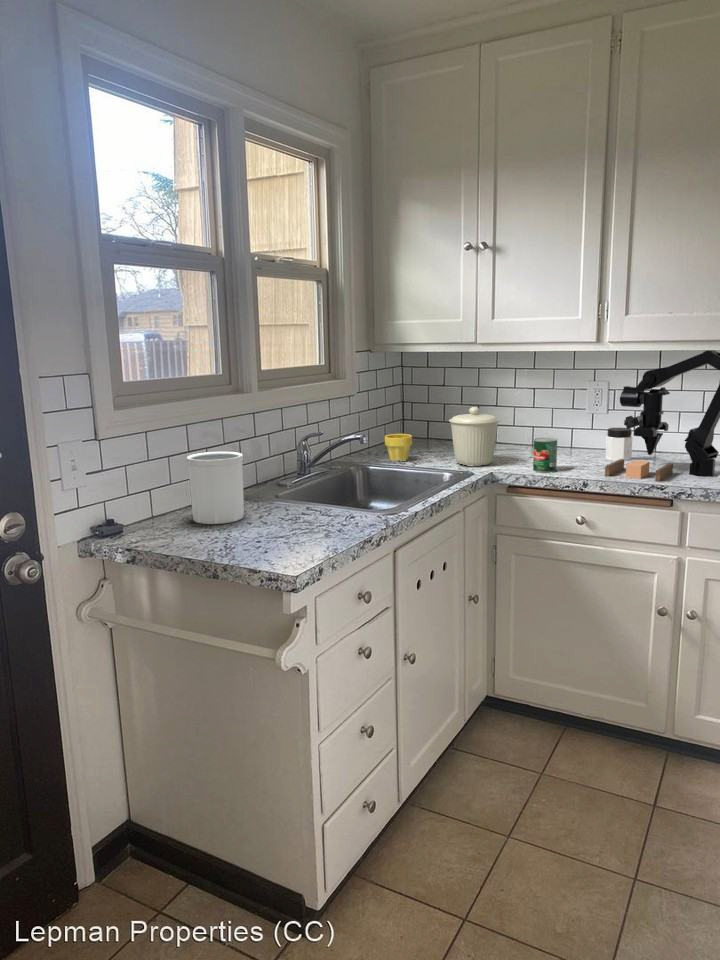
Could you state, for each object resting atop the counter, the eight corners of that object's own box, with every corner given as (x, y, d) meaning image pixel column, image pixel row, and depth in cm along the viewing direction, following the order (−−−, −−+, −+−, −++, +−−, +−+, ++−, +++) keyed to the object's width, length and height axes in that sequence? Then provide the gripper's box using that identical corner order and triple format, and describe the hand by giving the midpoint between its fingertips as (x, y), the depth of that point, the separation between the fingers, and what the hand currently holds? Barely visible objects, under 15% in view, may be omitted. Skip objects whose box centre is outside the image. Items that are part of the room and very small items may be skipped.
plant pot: (397, 464, 270) (397, 438, 268) (379, 461, 278) (379, 435, 276) (418, 460, 276) (417, 435, 274) (399, 457, 284) (399, 432, 282)
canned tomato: (530, 472, 249) (531, 440, 247) (535, 468, 256) (536, 437, 254) (554, 473, 246) (554, 441, 244) (558, 469, 253) (559, 438, 250)
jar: (619, 464, 257) (621, 431, 255) (600, 461, 264) (602, 429, 262) (635, 461, 262) (637, 428, 260) (616, 458, 269) (618, 426, 266)
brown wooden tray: (674, 477, 235) (675, 463, 234) (661, 485, 223) (661, 471, 222) (618, 471, 246) (618, 458, 245) (602, 479, 234) (603, 465, 233)
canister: (455, 459, 278) (454, 404, 273) (502, 460, 272) (503, 404, 267) (444, 467, 261) (444, 409, 257) (494, 469, 255) (495, 409, 251)
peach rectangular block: (648, 474, 235) (649, 461, 234) (640, 479, 228) (641, 466, 227) (634, 473, 238) (635, 460, 237) (625, 477, 231) (626, 464, 230)
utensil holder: (210, 510, 208) (206, 449, 205) (256, 513, 203) (252, 451, 200) (180, 523, 195) (175, 458, 191) (228, 527, 190) (223, 461, 186)
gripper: (636, 404, 251) (634, 448, 255) (618, 409, 237) (616, 456, 240) (670, 405, 245) (667, 451, 248) (654, 411, 230) (651, 459, 233)
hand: (649, 454), depth 243 cm, fingers closed
